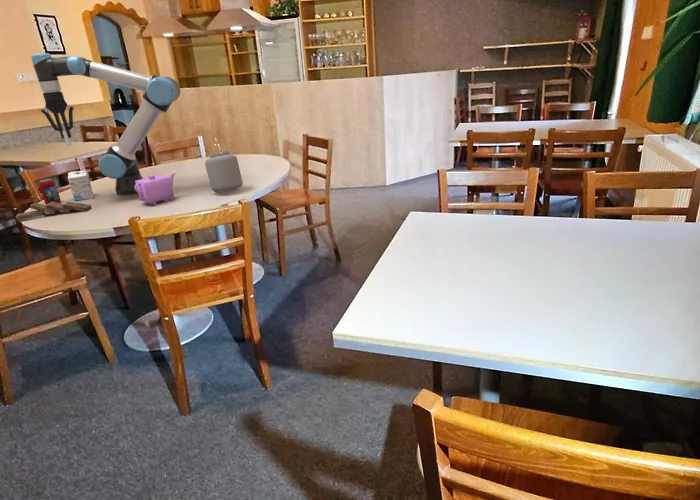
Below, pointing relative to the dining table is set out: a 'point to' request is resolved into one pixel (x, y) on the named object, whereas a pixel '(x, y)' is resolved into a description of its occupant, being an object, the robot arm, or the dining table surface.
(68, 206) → the domino
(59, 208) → the domino
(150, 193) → the teapot
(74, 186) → the ink box
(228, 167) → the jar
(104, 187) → the dining table surface
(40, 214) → the domino
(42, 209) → the domino
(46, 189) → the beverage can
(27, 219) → the domino
